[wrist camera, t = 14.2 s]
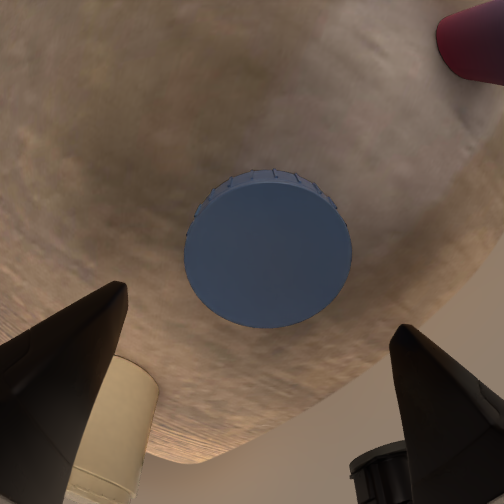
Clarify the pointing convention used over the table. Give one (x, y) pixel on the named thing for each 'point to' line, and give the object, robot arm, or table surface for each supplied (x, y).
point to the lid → (267, 250)
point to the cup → (474, 42)
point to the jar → (115, 437)
